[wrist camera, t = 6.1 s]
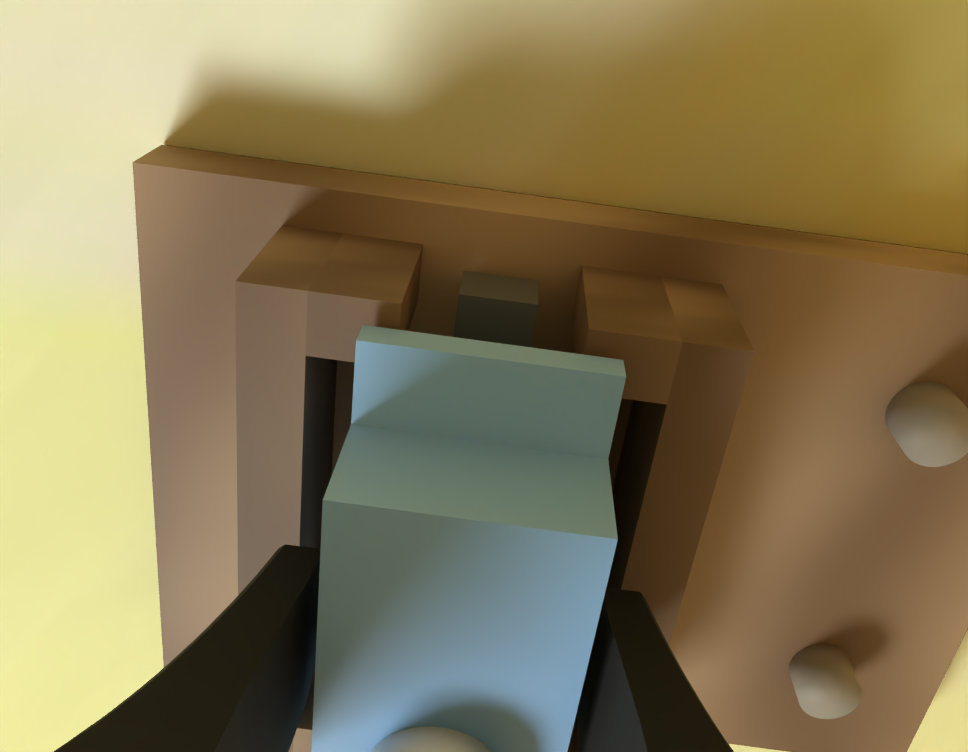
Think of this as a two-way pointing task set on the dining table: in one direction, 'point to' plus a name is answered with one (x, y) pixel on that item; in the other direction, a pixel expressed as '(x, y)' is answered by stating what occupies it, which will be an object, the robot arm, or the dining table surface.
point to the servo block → (465, 535)
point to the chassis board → (639, 427)
